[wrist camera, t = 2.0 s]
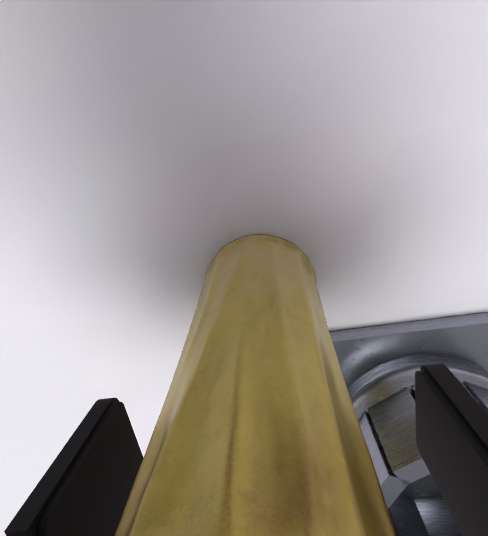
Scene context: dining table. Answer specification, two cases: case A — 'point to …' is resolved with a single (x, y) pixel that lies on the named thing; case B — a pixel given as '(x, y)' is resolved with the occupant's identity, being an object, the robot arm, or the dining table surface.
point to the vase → (257, 415)
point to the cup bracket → (409, 405)
